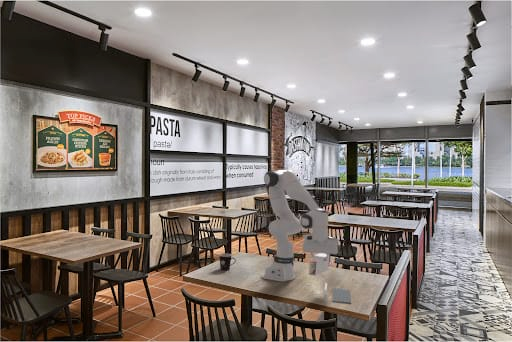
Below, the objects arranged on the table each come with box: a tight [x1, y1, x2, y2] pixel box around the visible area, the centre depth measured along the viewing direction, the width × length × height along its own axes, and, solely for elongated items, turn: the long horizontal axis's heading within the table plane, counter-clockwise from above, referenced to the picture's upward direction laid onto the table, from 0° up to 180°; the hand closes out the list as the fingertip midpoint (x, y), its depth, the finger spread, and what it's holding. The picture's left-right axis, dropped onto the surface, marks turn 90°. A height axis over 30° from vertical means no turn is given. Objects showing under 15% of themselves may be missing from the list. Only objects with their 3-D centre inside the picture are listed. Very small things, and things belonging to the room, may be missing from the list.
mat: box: [332, 288, 352, 304], centre depth 201 cm, size 10×20×1 cm, turn 167°
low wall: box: [323, 282, 328, 302], centre depth 203 cm, size 1×20×4 cm, turn 167°
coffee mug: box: [218, 253, 237, 271], centre depth 247 cm, size 12×9×10 cm
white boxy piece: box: [307, 253, 331, 277], centre depth 203 cm, size 20×6×9 cm, turn 149°
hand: (319, 260), depth 203 cm, fingers closed on white boxy piece, 5 cm apart
